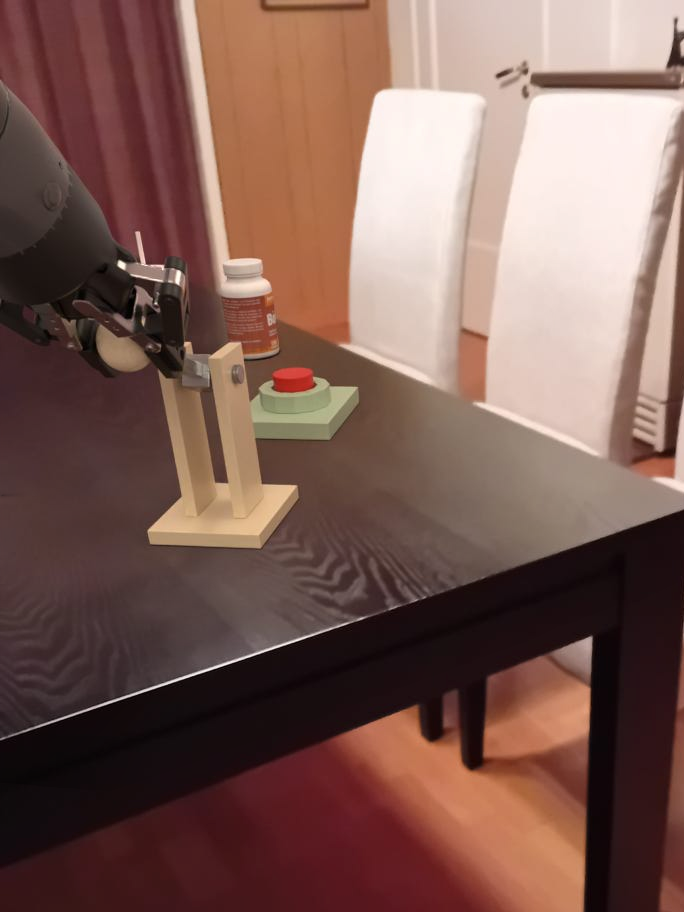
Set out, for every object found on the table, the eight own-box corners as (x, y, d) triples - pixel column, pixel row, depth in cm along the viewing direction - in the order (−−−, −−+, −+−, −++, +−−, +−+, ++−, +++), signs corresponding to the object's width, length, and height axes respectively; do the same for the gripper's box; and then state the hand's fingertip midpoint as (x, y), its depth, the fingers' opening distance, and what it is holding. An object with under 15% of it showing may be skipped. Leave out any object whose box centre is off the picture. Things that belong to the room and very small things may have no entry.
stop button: (308, 396, 100) (306, 378, 99) (269, 395, 101) (267, 378, 100) (319, 384, 104) (317, 367, 103) (281, 383, 104) (279, 366, 103)
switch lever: (139, 367, 62) (139, 307, 62) (84, 366, 63) (84, 307, 62) (232, 400, 77) (233, 352, 77) (188, 400, 78) (188, 352, 77)
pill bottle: (282, 357, 124) (270, 263, 119) (232, 363, 123) (217, 267, 117) (277, 345, 130) (265, 254, 124) (228, 350, 128) (214, 258, 123)
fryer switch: (260, 548, 77) (233, 369, 70) (149, 544, 78) (111, 367, 71) (299, 498, 85) (278, 333, 78) (198, 495, 87) (168, 332, 80)
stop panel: (329, 440, 98) (326, 405, 96) (231, 438, 99) (225, 403, 97) (359, 402, 108) (356, 369, 106) (269, 400, 109) (265, 368, 108)
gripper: (141, 123, 50) (255, 316, 67) (-119, 128, 52) (55, 314, 69) (116, 255, 48) (240, 420, 65) (-152, 255, 50) (35, 415, 67)
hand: (144, 365), depth 67 cm, fingers closed on switch lever, 3 cm apart
